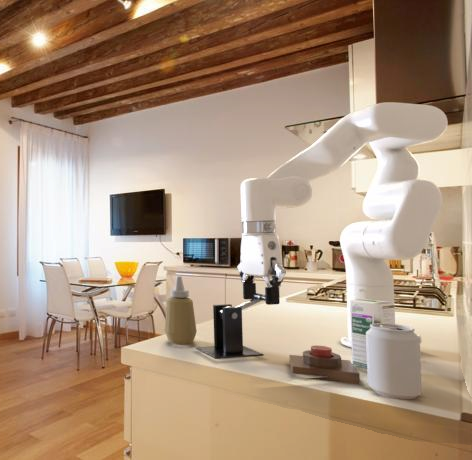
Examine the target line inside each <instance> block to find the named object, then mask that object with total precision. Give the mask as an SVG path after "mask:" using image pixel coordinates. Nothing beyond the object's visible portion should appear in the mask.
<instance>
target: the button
mask: <svg viewBox="0 0 472 460" xmlns="http://www.w3.org/2000/svg"><path fill="white" fill-rule="evenodd" d="M310 350H311V355H313V356H318V357H326V358H327V357H332V353H333V349H332V347H329V346H325V345H311V346H310Z"/></svg>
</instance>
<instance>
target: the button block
mask: <svg viewBox="0 0 472 460" xmlns="http://www.w3.org/2000/svg"><path fill="white" fill-rule="evenodd" d="M288 360H289V364H290V368H291V372H292V374H299V375H308V376H317V377H308V378H306V380H316V381H323V382H332V383H342V384H351V385H360V384H361V377H360V375H361V374H360V372H359V370H357V368H356V367H355V365H353V364H352V360H349V359H342V357H341V355H340V354H339V353H335V352H332V357H327V358H326V357H318V356H313V355H311V349H310V350H309V349H307V350H304V351H302V355H295V354H289V355H288Z"/></svg>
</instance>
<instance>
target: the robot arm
mask: <svg viewBox="0 0 472 460" xmlns="http://www.w3.org/2000/svg"><path fill="white" fill-rule="evenodd" d="M448 124H449V123H448V117H447V114H445V112H444V111H443V110H442V109H440V108H438V107H437V106H433V105H431V104H419V103H408V102H394V101H392V102H391V101H390V102H389V101H387V102H385V101H384V102H379V103H375V104H373V105H370V106H367V107H364V108H361V109H358V110H355V111H353V112H350V113H348V114H346V115H345V116H343V117H342V118H340V119H339V120H338V121H337V122H336V123H335V124H334V125H332V127H330V128H329V129H328V130H327V131H326V132H325V133H324V134H323V135H322V136H320V138H318V140H316V141H315V142H314V143H313V144H312V145H310V146H309V147H307V148H305V149H304V150H302V151H301V152H299V153H298V154H297V155H295V156H294V157H292V158H291V159H289V160H288V161H285V163H283V164H282V165H279V167H278V168H276V169H275V170H274V171H272V172H271V173H270V174H269V175H268V176H267V177H255V178H254V177H253V178H247V179H244V180H242V182H241V183H240V186H239V187H240V220H241V221H240V222H241V223H240V224H241V226H240V227H241V239H240V240H241V242H240V257H239V258H240V262H239V263H238V265H237V270H238V273H239V277H240V278H241V280H240V281H241V283H242V298H243V300H251V299H254V294H255V293H257V283H256V282H255V280H256V277H261V278H262V277H263V279H264V282H265V285H266V286H265V287H264V290H265V291H264V295H265V301H264V302H265V305H268V306H272V305H280V288H281V287H282V283H283V282H284V278H285V275H286V274H287V270H286V269H285V268H284V265H283V254H282V247H281V246H282V245H281V242H280V238H279V235H278V234H277V222H276V219H277V217H276V215H277V213H276V210H282V209H295V208H299V207H302V206H304V205H306V204H307V203H309V202H310V200H311V199H312V197H313V195H314V189H313V186H312V183H311V181H312V182H313V181H314V180H318V179H319V178H323V177H325V176H327V175H329V174H331V173H334V172H335V171H338V170H340V168H342V167H343V166H344V165H345V164H346V163H347V162H348V161H349V160H350V159H351V158H352V157H354V156H355V155H356V154H357V153H358V152H360V150H361V149H362V148H363V147H364V146H366V145H367V144H369V146H370V148H371V149H372V151H373V153H374V155H375V157H376V161H377V168H376V169H377V170H376V172H375V174H374V177H373V179H372V181H371V183H370V185H369V187H368V190H367V192H366V195H365V197H364V199H363V201H362V212H363V214H364V215H365V216H366V217H367V218H369V219H371V220H362V221H356V222H352V223H350V224H348V225H347V226H346V227H345V228H344V229H342V231H341V233H340V236H339V244H340V249H341V253H342V256H343V260H344V266H345V285H346V287H345V289H346V312H347V313H346V315H347V336H342V337H341V338H340V343H341V344H342V345H343V346H345V347H348V348H351V349H352V345H351V318H350V301H351V300H354V299H368V300H377V301H386V302H394V303H395V286H394V285H395V283H394V282H395V281H394V275H393V272H392V270H391V267H390V266H389V263H388V262H387V261H408V260H413V259H415V258H416V257H418V256H419V255H420V254H421V253H422V251H423V250H424V248H425V246H426V245H427V243H428V240H429V238H430V236H431V234H432V231H433V229H434V227H435V225H436V222H437V220H438V218H439V216H440V213H441V210H442V207H443V195H442V192H441V189H440V188H439V187H438V185H437V184H436V183H434V182H433V181H431V180H428V179H423V178H419V176H420V171H421V170H420V169H421V168H420V164H419V162H418V160H417V159H416V158H415V156H414V155H413V154H412V152H410V150H409V149H408V147H409V148H410V147H412V146H413V147H414V146H416V145H422V144H426V143H431V142H432V141H433V142H434V141H435V140H437V139H439V138H440V137H442V135H444V133H446V131H447V128H448ZM416 335H417V336H418V337H419V338H420V344H422V336H421V334H416Z"/></svg>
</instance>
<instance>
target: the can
mask: <svg viewBox="0 0 472 460" xmlns="http://www.w3.org/2000/svg"><path fill="white" fill-rule="evenodd" d="M370 327H371V328H370V329H369V330H368V331H367V332H366V351H367V368H366V375H367V386H368V387H369V388H371V390H373V391H374V393H376V394H378V395H381V396H383V397H388V398H393V399H398V400H413V399H414V400H415V399H416V398H417V397H419V396H420V395H422V394H423V387H422V384H423V383H422V359H421V358H422V357H421V343H420V338H419V337H418V336H417V335H418V334H417V333H415V332H414V331H415V330H416V329H415V328H414V327H412V326H408V325H405V324H397V323H395V324H388V323H374V324H370Z"/></svg>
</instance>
